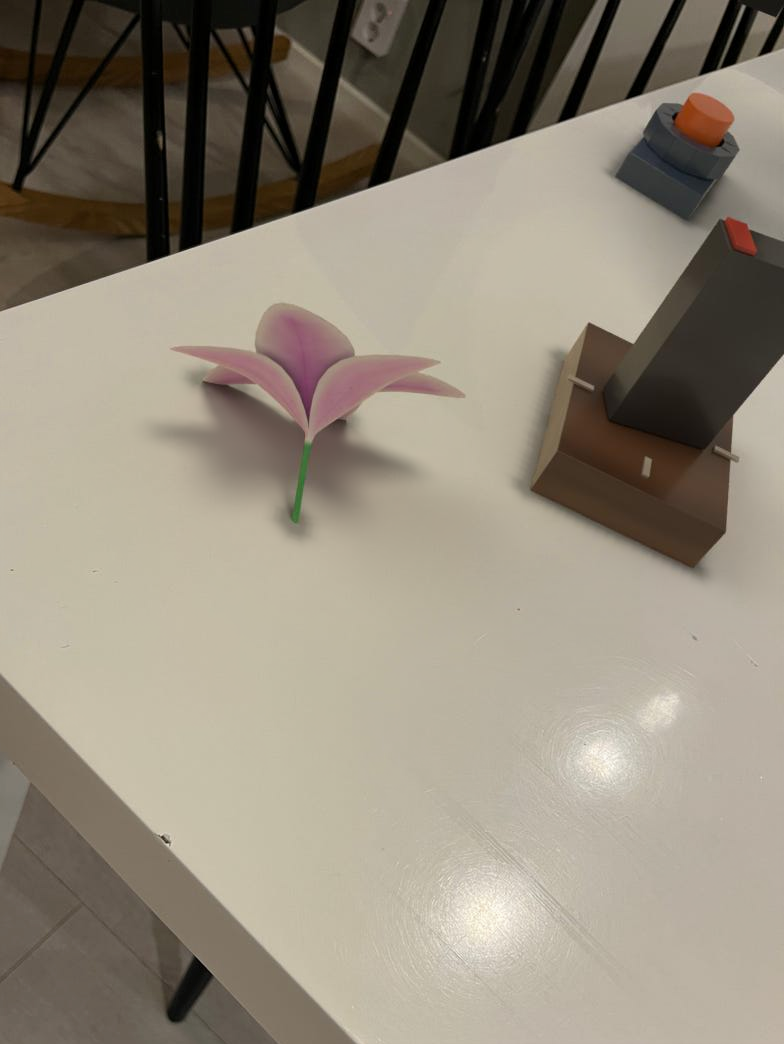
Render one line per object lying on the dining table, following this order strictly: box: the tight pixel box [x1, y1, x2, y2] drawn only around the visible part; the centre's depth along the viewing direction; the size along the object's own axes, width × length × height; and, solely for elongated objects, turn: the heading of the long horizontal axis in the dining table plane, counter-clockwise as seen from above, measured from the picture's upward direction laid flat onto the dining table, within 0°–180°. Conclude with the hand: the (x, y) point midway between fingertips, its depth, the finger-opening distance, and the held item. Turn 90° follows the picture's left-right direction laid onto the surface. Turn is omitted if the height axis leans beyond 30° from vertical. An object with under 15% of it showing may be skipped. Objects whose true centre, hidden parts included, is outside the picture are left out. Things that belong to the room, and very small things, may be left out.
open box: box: [603, 216, 784, 449], centre depth 51 cm, size 6×2×10 cm, turn 87°
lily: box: [169, 302, 467, 524], centre depth 46 cm, size 12×12×10 cm
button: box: [674, 92, 735, 147], centre depth 77 cm, size 4×4×2 cm
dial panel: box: [530, 321, 740, 569], centre depth 56 cm, size 12×10×3 cm
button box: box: [614, 102, 741, 222], centre depth 79 cm, size 10×6×4 cm, turn 150°
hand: (781, 58), depth 64 cm, fingers open, 13 cm apart
